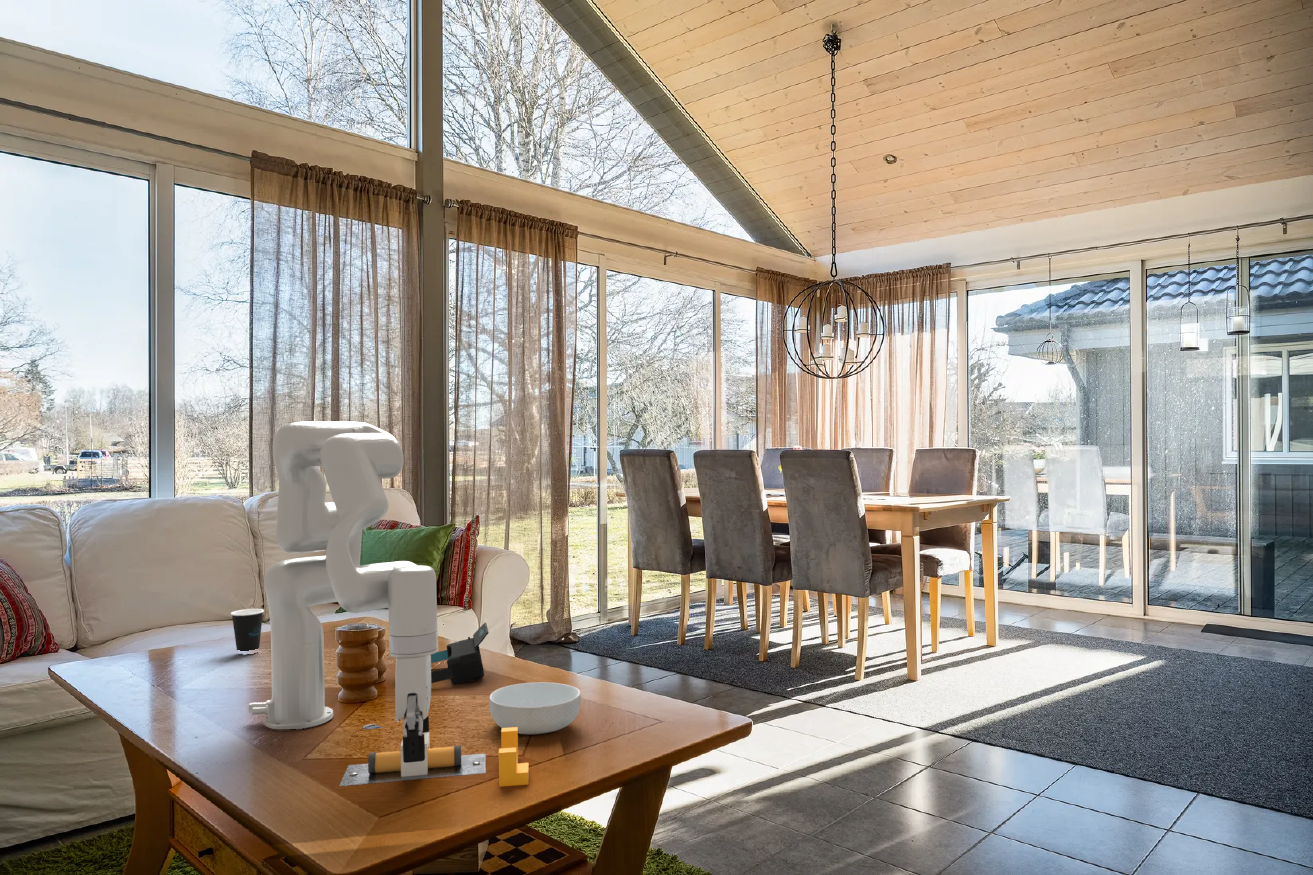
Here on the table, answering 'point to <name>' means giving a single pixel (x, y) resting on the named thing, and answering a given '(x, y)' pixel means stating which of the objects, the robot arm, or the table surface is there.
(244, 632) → the dixie cup
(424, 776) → the mounting plate
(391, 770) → the handle
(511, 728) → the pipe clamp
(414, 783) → the table surface
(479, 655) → the virtual reality headset
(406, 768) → the white u-shaped block
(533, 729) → the cereal bowl
